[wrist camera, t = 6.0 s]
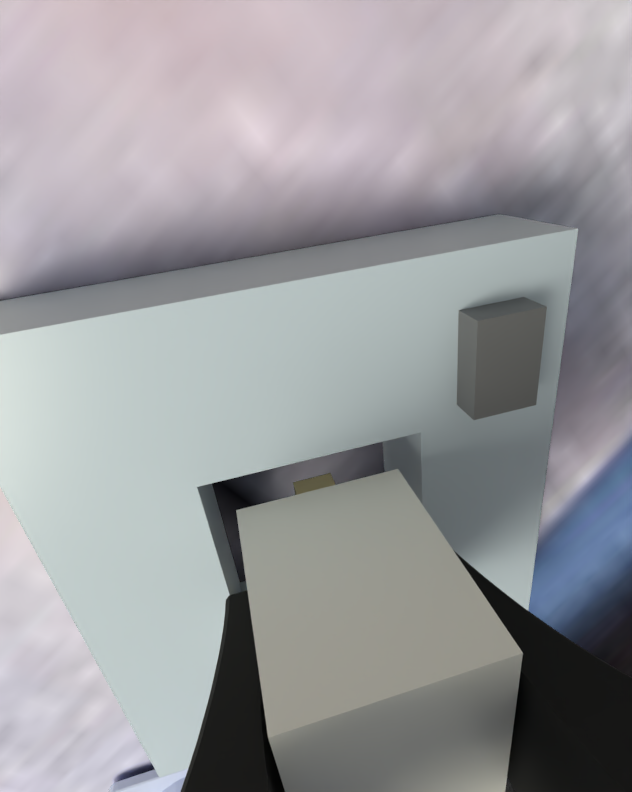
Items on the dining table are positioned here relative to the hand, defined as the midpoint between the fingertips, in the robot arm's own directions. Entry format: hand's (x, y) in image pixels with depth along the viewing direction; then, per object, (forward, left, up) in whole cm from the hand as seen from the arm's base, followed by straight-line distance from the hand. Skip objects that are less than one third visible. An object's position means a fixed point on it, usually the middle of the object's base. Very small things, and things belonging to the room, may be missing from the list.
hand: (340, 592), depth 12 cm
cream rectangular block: (0, 0, -2) cm, 2 cm away
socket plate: (0, 0, -4) cm, 4 cm away
